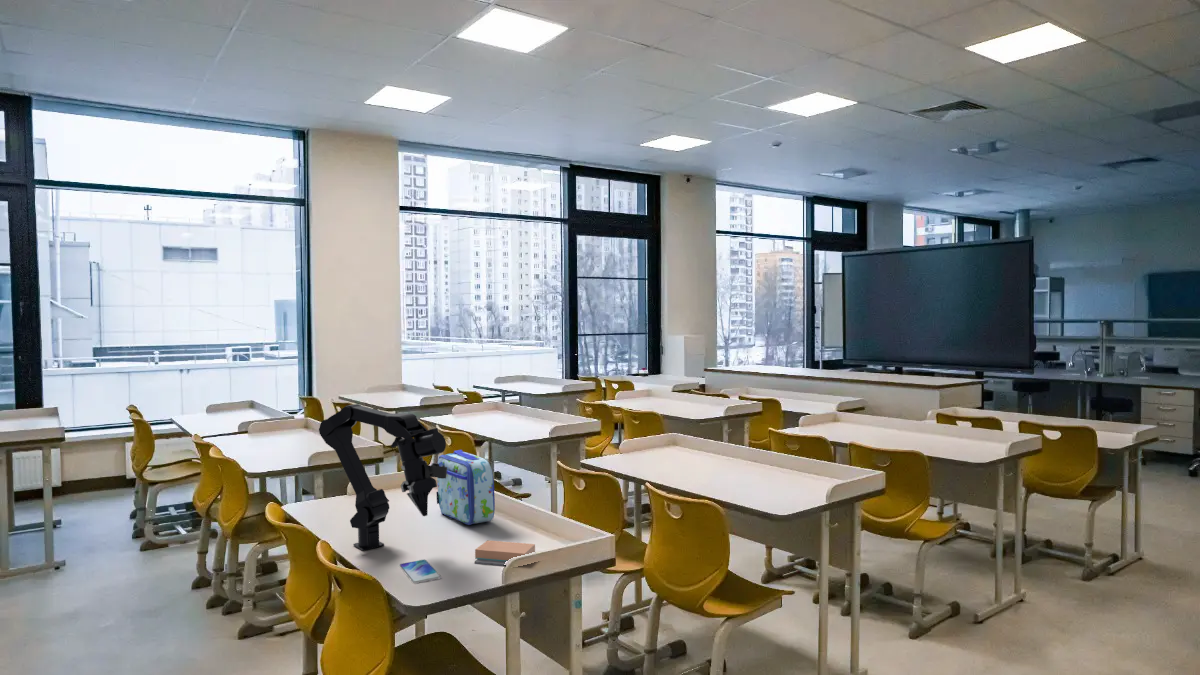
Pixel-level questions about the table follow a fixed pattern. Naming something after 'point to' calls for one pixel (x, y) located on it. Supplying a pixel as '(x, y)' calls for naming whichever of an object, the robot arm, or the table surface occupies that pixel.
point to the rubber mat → (490, 562)
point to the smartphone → (420, 571)
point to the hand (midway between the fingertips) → (425, 515)
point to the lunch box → (466, 488)
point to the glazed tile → (502, 550)
